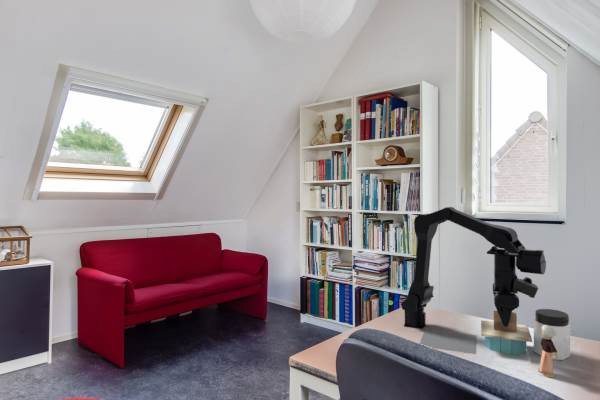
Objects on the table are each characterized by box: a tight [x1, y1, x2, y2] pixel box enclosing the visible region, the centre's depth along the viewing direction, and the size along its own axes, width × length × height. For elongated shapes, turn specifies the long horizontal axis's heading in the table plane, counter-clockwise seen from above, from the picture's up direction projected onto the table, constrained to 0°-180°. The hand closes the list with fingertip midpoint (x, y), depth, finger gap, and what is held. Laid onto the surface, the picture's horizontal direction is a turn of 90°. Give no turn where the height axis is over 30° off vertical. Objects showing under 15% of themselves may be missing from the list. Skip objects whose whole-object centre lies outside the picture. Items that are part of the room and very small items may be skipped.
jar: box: [533, 308, 571, 361], centre depth 116 cm, size 9×8×12 cm
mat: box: [419, 328, 477, 355], centre depth 126 cm, size 16×16×1 cm
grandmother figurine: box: [537, 325, 558, 378], centre depth 103 cm, size 8×4×13 cm, turn 5°
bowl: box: [484, 336, 527, 355], centre depth 121 cm, size 11×11×5 cm
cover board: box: [480, 310, 533, 343], centre depth 120 cm, size 13×13×6 cm
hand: (504, 321), depth 120 cm, fingers open, 9 cm apart
